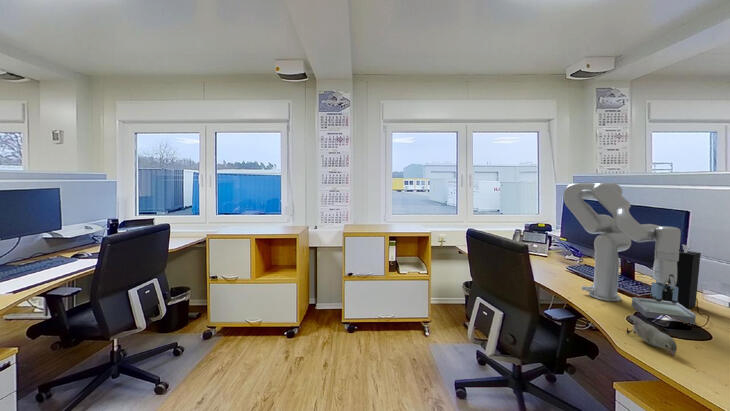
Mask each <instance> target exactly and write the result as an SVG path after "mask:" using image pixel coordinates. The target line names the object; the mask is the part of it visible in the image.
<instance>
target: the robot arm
mask: <svg viewBox="0 0 730 411" xmlns="http://www.w3.org/2000/svg"><path fill="white" fill-rule="evenodd" d="M562 194H563V197H562V198H563V202H564V205H565V206H566V207H567V209H568V210H569V211H570V213H572V214H573V216H574V217H575V218H576V220H577V221H578V222H579V223H580V225H581V227H583V229H584V231H586V232H587V233H589V234H591V235H597V234H599V235H597V236H596V237H595V239H594V241H593V247H594V271H593V272H594V273H593V284H591V286H586V285H585V286H584V285H582V286H581V291H585V292H587V293H588V295H589V296H590V297H592V298H594V299H597V300H601V301H606V302H620V301H621V300H622V297H621V296H620V295H618V287H619V272H620V257H619V254H618V253H619V252H625V251H626V250H629V249H630V247H631V246H632V241H634V242H636V243H645V242H655V244H654V261H653V267H652V275H651V278H652V279H653V280H654V281H655V283H661V284H663V287H664V291H662V301H672V297H673V290H674V288H675V287H676V286H675V285H676V283H677V261H679V250H681V249H680V247H681V246H680V245H681V234H682V233H681V229H680V228H678V227H674V226H664V225H663V226H662V225H657V224H654V223H653V224H652V223H645V224H644V223H643V224H641V223H639V222H638V221H637V220H636V219H635V218H634V217H633V216H632V214H631V212H630V208H631V206H632V205H631V203H630V202H629V201H628V199H626V198H625V197H624V196H623V189H622V187H621V185H619V184H618V183H614V182H598V183H597V182H596V183H595V182H594V183H593V182H575V183H572V184H571V183H570V184H569V185H567V186H566V187H565V189H564V191H563V193H562ZM584 200H596V201H598V202H599V203H600V205H602V206H603V207H604V208H605V210H607V211H608V212H609V213H610V214H611V215H612V216H611V215H607V214H599V213H597V212H596V211H595V210H594V209H593V207H592V206H591V205H590V204H589V203H587V202H586V201H584ZM668 283H670V284H668ZM666 285H668V287H667V288H666Z"/></svg>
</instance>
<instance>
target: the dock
mask: <svg viewBox="0 0 730 411" xmlns="http://www.w3.org/2000/svg"><path fill="white" fill-rule="evenodd" d="M631 299H632V300H631V307H632V308H633V309H634V310H635V311H637V312H638V313H639V312H640V313H641V314H643V315H644V316H658V315H668V316H672V317H675V318H678V319H681V320H683V321H685V322H687V323H690V324H689V325H692V324H693V326H695V325H696V315H697V314H695V313H694V312H692V311H691V310H690V309H687V308H685V307H684V306H682V305H681V304H679V303H678V302H677V303H672V302H671V301H663V300H662V301H660V302H658V301H656V300H655V299H654V298H645V297H635V296H633V297H632V298H631ZM640 313H639V314H640ZM641 314H640V315H641Z"/></svg>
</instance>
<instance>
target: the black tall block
mask: <svg viewBox="0 0 730 411" xmlns="http://www.w3.org/2000/svg"><path fill="white" fill-rule="evenodd" d="M681 246H683V247H682V250H684V252H681V251H679V261H677V283H676V285H675V286H676V287H678V303H679V304H681V305H682V306H684V307H685V308H687V309H688V310H690V309H691V308H694V307H696V305H697V294H698V293H697V292H698V285H699V284H698V283H699V272H700V262H701V254H702V253H701V252H696V251H689V250H690V249H691V248H692V246H690V245H686V244H684V243H683V244H682V245H681ZM667 284H670V283H668V282H667Z"/></svg>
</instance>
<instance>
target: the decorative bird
mask: <svg viewBox="0 0 730 411" xmlns="http://www.w3.org/2000/svg"><path fill="white" fill-rule="evenodd" d="M629 318H630V319H631V320H632V321H633V325H632V326H633V327H632V328H633V329H631V330H629V328H628V327H626V328H627V329H626V335H630V334H631V333H632V332H633V334H632V335H634V334H635V336H636V335H637V336H638V337H639V338H640V339H642V340H643V341H644V342H646V344H648V345H651V346H653V347H656V348H659V349H660V348H661V349H662V348H663V349H665V350H666V351H667V352H668V353H669V354H670V355H671V357H674V356H675V355H676V353H677V349H678V348H677V343H676V341H675V340H674V338H672V337H671V336H670V335H668V334H666V333H664V332H663V331H661V330H659V329H658V328H657V327H655V326H654V325H652V324H649V323H647V322H644V321H643V320H642V319H641V318H640V317H637V316H635V315H633V314H631V315H630V316H629Z"/></svg>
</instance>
